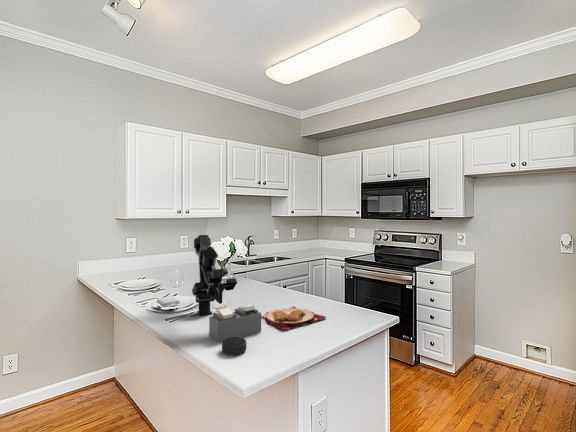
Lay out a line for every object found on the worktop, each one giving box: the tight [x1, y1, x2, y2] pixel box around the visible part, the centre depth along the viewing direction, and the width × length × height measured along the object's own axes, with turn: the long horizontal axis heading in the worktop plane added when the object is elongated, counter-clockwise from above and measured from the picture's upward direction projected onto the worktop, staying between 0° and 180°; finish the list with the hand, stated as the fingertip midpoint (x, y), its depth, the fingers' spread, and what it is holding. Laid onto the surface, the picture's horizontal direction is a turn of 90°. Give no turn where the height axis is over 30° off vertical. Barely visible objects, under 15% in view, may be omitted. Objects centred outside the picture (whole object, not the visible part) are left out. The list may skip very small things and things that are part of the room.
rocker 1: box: [215, 305, 233, 319], centre depth 142 cm, size 6×4×2 cm
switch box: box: [208, 308, 262, 343], centre depth 146 cm, size 8×20×9 cm, turn 126°
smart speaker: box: [221, 337, 247, 356], centre depth 129 cm, size 9×9×4 cm
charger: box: [156, 296, 181, 307], centre depth 180 cm, size 5×9×15 cm
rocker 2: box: [237, 305, 256, 311], centre depth 148 cm, size 6×4×2 cm
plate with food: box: [261, 306, 327, 331], centre depth 166 cm, size 25×26×4 cm
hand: (221, 303), depth 145 cm, fingers closed
